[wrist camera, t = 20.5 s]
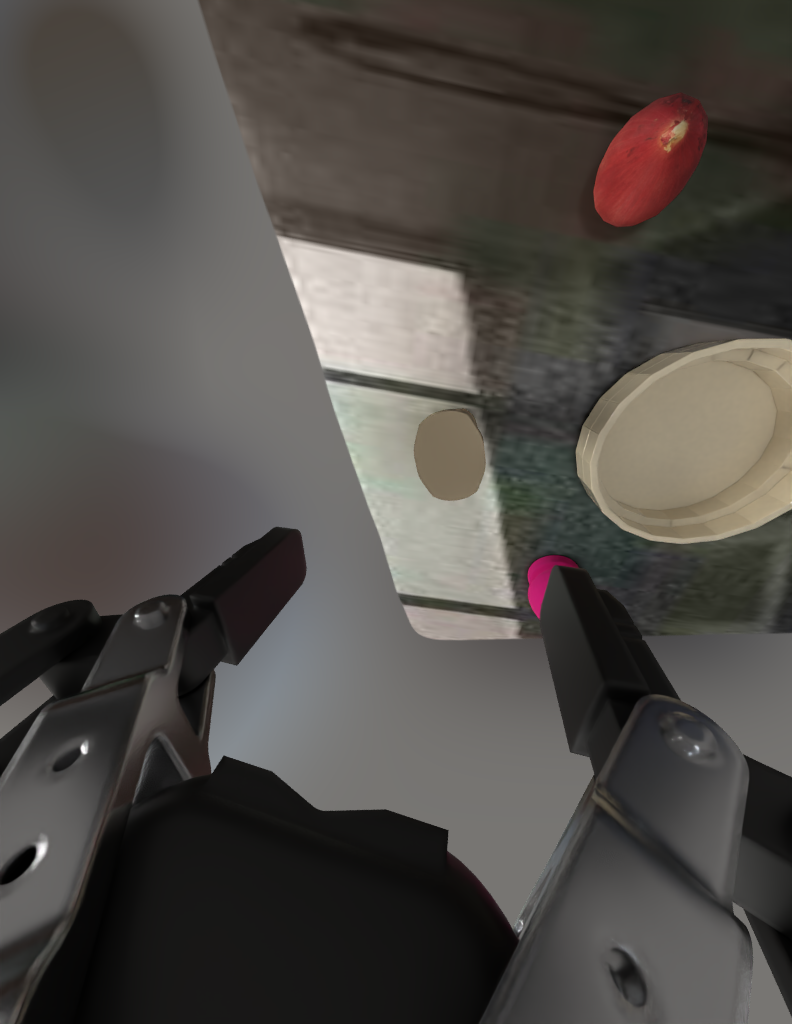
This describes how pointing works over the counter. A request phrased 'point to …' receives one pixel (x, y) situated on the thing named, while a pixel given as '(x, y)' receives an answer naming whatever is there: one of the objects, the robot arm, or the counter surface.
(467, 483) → the handle
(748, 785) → the robot arm
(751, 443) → the bowl
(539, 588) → the pepper mill
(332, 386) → the counter surface
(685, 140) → the onion
